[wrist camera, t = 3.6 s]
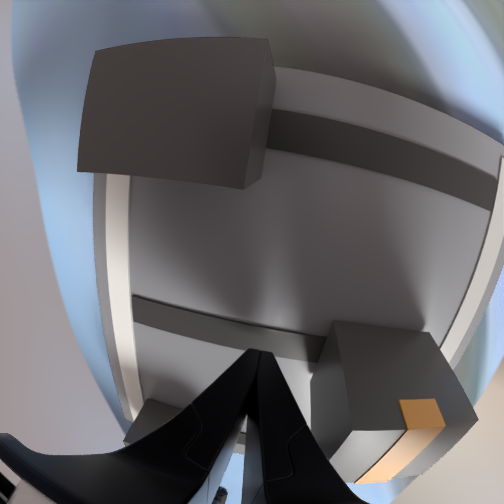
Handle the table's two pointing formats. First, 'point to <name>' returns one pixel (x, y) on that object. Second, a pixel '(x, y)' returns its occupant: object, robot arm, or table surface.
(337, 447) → the block
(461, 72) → the table surface
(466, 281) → the panel
